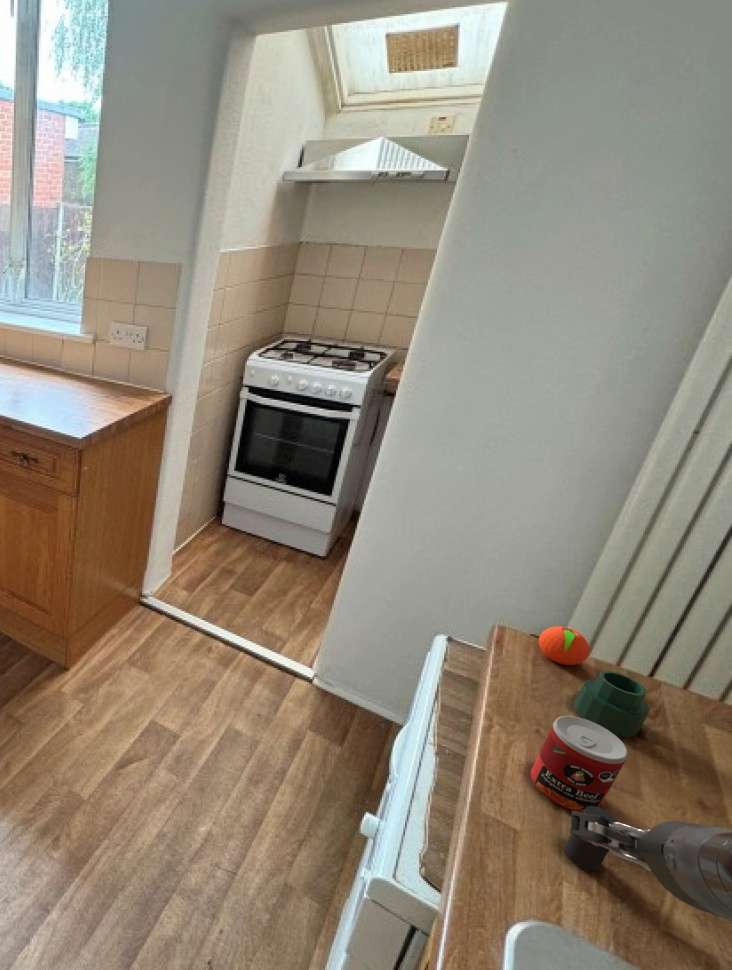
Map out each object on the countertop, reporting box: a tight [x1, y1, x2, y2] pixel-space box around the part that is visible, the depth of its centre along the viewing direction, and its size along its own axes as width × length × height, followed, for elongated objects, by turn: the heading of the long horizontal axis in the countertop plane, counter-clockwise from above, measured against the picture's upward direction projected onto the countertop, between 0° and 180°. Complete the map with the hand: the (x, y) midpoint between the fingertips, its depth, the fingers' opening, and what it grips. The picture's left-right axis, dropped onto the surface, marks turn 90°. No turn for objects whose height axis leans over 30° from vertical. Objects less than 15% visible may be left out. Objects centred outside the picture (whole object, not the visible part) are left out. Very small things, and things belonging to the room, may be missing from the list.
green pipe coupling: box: [573, 670, 651, 738], centre depth 100 cm, size 8×8×8 cm
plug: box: [563, 806, 621, 872], centre depth 78 cm, size 3×3×8 cm
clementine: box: [538, 626, 591, 666], centre depth 113 cm, size 8×7×7 cm
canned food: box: [530, 715, 629, 813], centre depth 87 cm, size 8×8×11 cm
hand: (635, 851), depth 69 cm, fingers open, 8 cm apart
